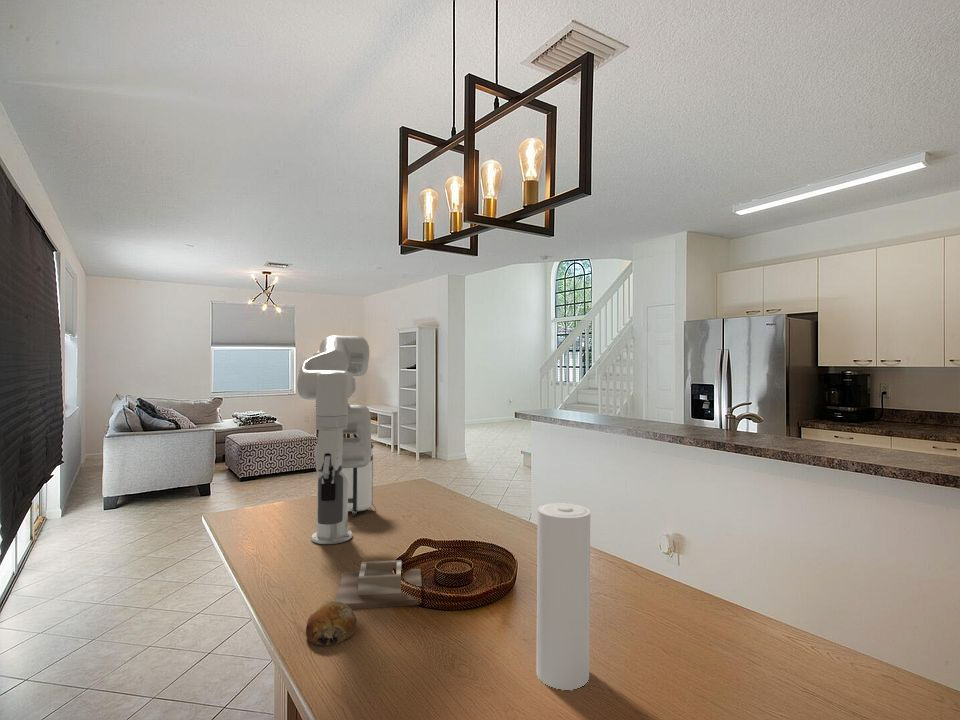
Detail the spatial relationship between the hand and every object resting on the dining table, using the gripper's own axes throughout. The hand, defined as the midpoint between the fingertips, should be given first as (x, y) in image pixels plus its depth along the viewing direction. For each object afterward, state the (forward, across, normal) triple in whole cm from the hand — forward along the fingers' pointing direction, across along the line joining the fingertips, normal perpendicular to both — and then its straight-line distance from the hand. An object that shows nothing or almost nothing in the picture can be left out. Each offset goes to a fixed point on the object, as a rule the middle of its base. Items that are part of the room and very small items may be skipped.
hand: (330, 496), depth 124 cm
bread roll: (+24, +20, +4) cm, 31 cm away
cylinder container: (+23, +38, +47) cm, 65 cm away
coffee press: (+24, -68, -3) cm, 72 cm away
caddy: (+23, 0, +12) cm, 26 cm away
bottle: (+6, 0, 0) cm, 6 cm away
